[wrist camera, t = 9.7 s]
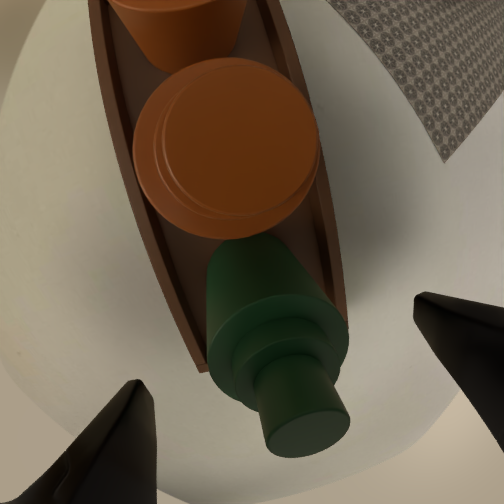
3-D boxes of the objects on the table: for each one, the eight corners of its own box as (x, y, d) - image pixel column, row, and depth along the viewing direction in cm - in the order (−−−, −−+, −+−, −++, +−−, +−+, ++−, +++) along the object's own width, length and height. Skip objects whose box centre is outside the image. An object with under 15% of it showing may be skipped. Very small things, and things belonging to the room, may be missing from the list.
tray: (335, 311, 16) (349, 329, 15) (199, 351, 16) (199, 374, 14) (252, -32, 10) (258, -52, 8) (99, 6, 9) (86, -9, 7)
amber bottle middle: (216, 219, 13) (234, 351, 4) (149, 151, 12) (23, 151, 3) (288, 154, 13) (435, 166, 4) (223, 84, 11) (254, -48, 2)
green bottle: (248, 328, 15) (290, 489, 6) (187, 275, 14) (169, 446, 5) (311, 273, 15) (417, 408, 6) (255, 211, 13) (341, 325, 5)
